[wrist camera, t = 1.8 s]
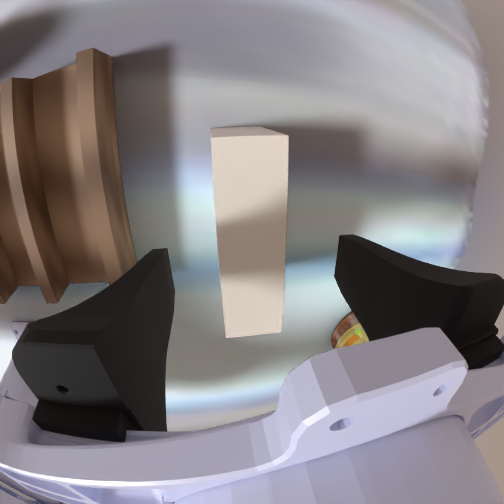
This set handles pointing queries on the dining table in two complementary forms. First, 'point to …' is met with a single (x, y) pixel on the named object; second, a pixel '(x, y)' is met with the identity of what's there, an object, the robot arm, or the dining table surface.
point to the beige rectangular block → (250, 226)
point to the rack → (61, 180)
